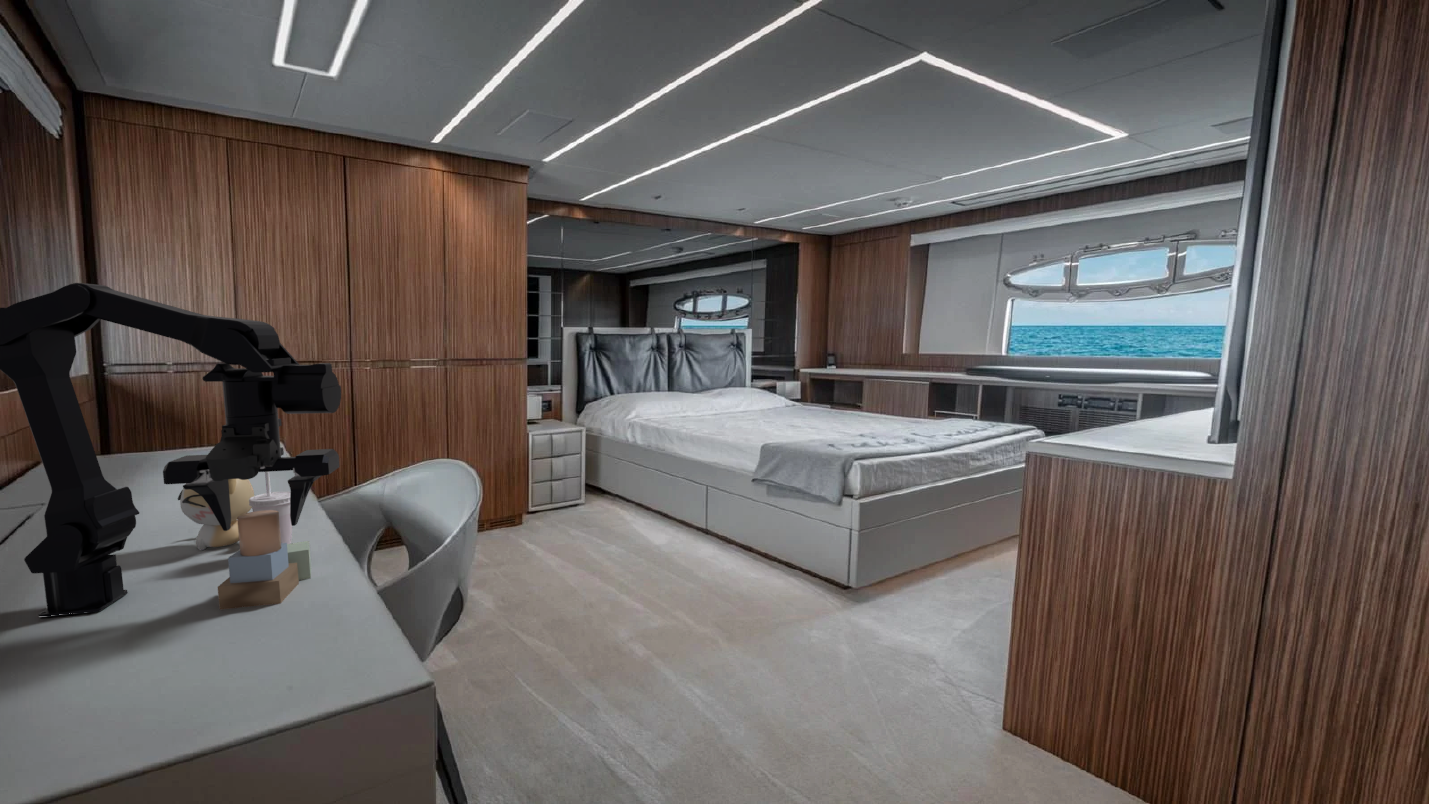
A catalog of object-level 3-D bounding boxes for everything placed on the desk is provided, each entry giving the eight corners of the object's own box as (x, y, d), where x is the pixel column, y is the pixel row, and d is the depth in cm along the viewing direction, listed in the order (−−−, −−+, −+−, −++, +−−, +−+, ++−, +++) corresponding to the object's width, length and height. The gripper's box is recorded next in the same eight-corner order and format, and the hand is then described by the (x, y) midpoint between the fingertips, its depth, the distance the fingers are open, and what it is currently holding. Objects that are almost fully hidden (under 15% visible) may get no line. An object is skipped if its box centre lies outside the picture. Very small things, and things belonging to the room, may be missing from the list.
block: (273, 585, 92) (271, 555, 91) (276, 575, 95) (273, 546, 95) (310, 578, 94) (308, 549, 93) (311, 569, 98) (309, 540, 97)
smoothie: (244, 557, 103) (236, 472, 101) (283, 544, 109) (277, 464, 107) (270, 562, 100) (263, 475, 99) (309, 549, 106) (303, 467, 105)
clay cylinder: (234, 558, 84) (231, 521, 83) (247, 546, 88) (245, 511, 88) (274, 554, 85) (272, 518, 85) (286, 543, 90) (283, 509, 89)
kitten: (174, 542, 110) (165, 457, 108) (243, 528, 118) (237, 449, 116) (194, 562, 100) (185, 469, 99) (269, 546, 108) (261, 459, 106)
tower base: (219, 612, 83) (217, 586, 83) (242, 591, 90) (240, 567, 90) (281, 605, 85) (278, 580, 85) (298, 585, 92) (297, 562, 92)
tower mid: (230, 583, 84) (227, 557, 84) (248, 569, 89) (246, 545, 89) (272, 580, 85) (270, 555, 85) (288, 566, 90) (286, 542, 90)
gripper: (131, 426, 75) (144, 554, 76) (311, 419, 80) (320, 539, 82) (180, 414, 85) (191, 526, 87) (336, 409, 90) (343, 515, 92)
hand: (261, 527), depth 87 cm, fingers open, 8 cm apart
